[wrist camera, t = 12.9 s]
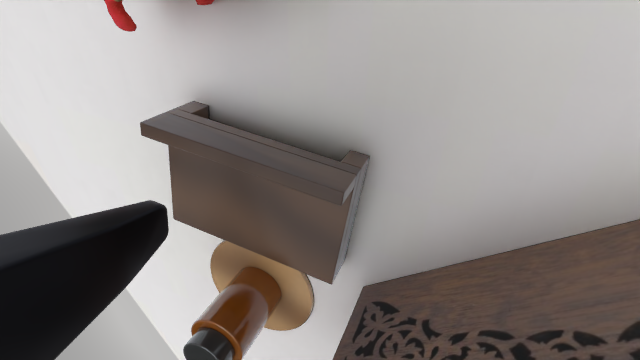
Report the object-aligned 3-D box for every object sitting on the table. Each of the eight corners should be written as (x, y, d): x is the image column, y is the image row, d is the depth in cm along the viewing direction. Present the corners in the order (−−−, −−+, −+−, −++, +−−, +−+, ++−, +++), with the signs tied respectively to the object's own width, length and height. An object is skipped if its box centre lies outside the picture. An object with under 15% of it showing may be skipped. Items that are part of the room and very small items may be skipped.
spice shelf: (344, 260, 25) (319, 307, 22) (196, 201, 28) (152, 234, 25) (370, 156, 21) (344, 192, 18) (193, 100, 24) (139, 122, 21)
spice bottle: (279, 314, 30) (229, 393, 24) (236, 294, 31) (177, 366, 25) (284, 278, 28) (230, 356, 22) (237, 258, 29) (174, 327, 23)
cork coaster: (305, 343, 31) (303, 347, 31) (213, 299, 33) (210, 303, 33) (322, 262, 26) (319, 266, 26) (213, 219, 28) (209, 221, 28)
